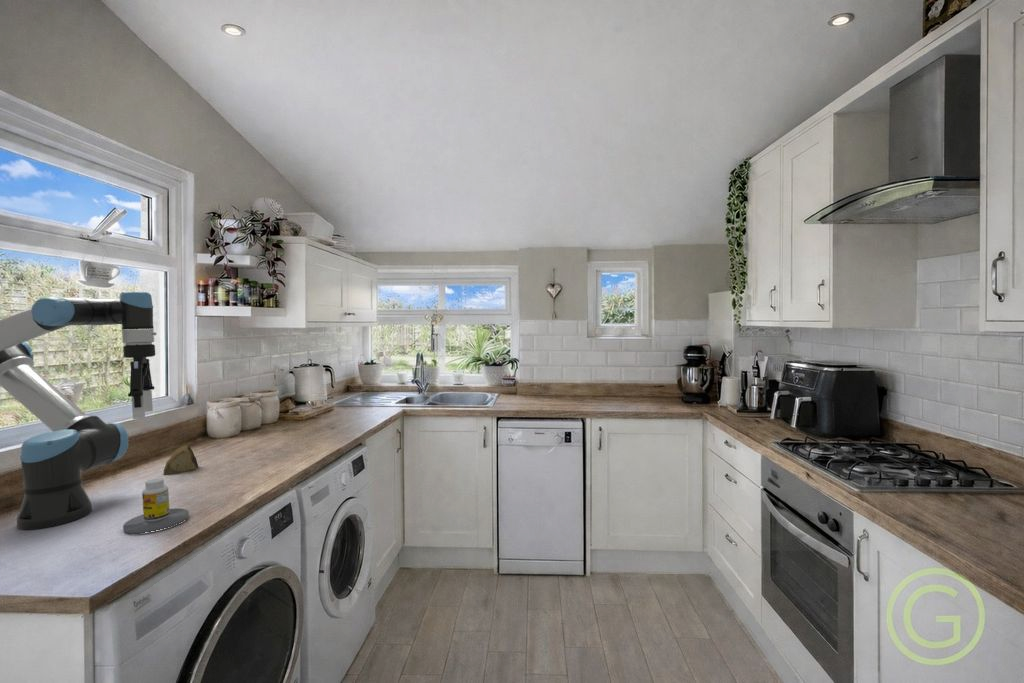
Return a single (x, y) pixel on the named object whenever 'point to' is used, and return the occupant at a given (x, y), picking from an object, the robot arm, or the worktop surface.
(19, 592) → the worktop surface
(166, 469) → the rock
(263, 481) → the worktop surface
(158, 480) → the supplement bottle
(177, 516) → the plate
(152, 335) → the robot arm
